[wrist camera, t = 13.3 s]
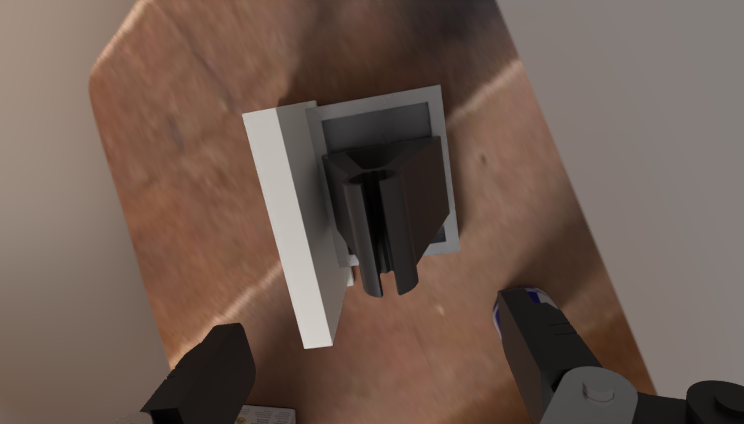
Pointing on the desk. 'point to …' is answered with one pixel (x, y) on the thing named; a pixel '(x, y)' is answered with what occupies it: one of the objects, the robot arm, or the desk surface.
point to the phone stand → (389, 206)
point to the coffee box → (265, 415)
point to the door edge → (299, 218)
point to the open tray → (376, 128)
